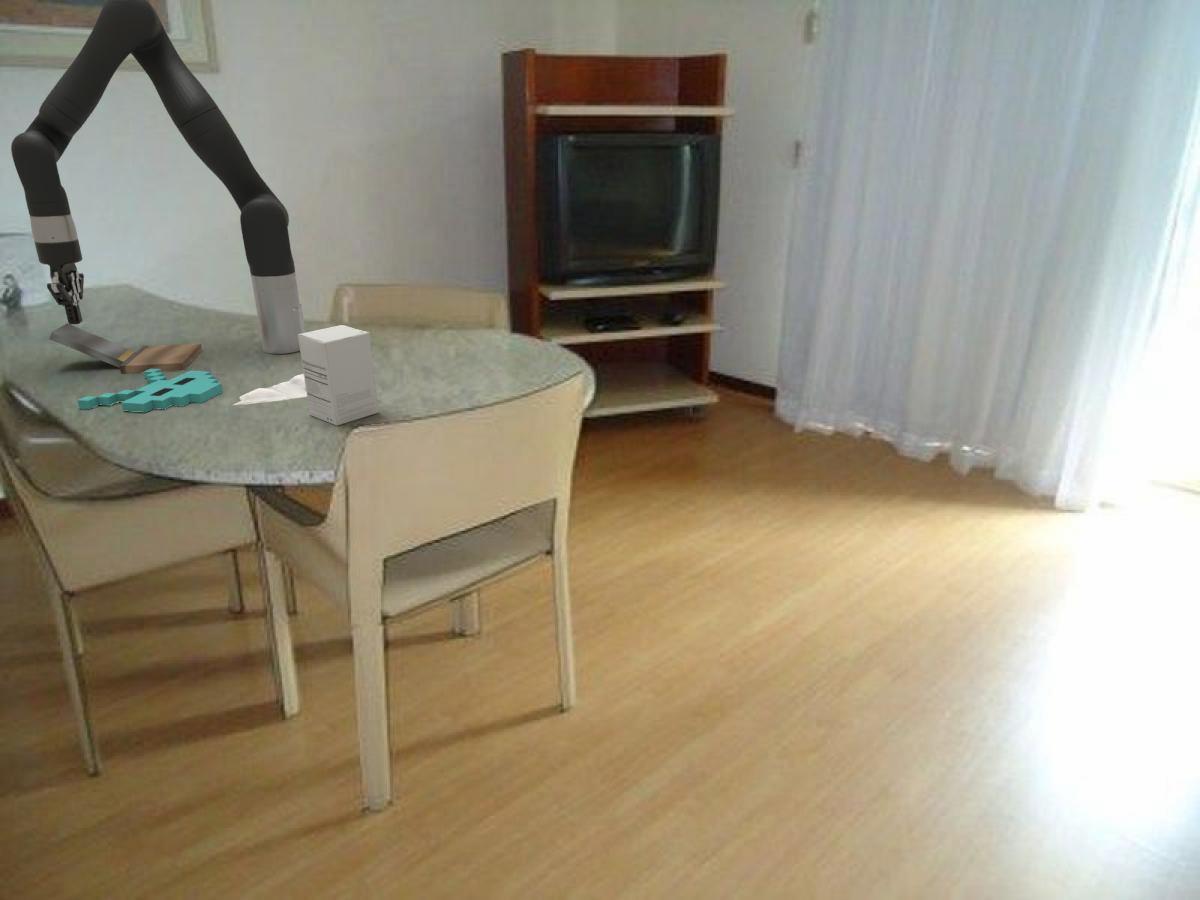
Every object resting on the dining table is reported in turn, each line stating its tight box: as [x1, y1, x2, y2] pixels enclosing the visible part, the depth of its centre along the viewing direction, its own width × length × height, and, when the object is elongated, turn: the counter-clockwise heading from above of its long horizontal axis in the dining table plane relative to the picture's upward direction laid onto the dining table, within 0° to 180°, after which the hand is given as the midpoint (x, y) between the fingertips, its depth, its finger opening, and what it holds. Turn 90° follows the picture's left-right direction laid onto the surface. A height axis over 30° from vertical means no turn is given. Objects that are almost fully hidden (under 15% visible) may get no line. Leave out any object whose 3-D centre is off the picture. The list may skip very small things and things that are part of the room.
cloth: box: [231, 373, 307, 407], centre depth 161 cm, size 26×14×2 cm, turn 137°
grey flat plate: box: [48, 322, 136, 369], centre depth 174 cm, size 14×8×2 cm, turn 102°
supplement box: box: [298, 324, 380, 427], centre depth 145 cm, size 9×9×15 cm
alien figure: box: [77, 369, 224, 412], centre depth 157 cm, size 20×2×20 cm
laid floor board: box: [119, 343, 203, 375], centre depth 178 cm, size 12×16×2 cm
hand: (75, 323), depth 172 cm, fingers closed
